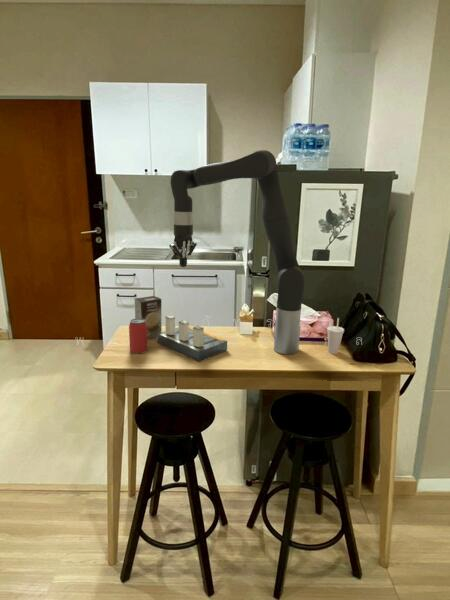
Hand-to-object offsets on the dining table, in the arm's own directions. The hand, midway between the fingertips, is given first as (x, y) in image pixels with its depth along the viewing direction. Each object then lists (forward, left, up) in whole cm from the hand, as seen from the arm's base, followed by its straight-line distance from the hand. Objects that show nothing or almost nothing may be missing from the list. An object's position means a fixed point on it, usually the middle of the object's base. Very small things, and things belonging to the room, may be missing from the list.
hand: (183, 266), depth 164 cm
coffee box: (+12, -8, -29) cm, 33 cm away
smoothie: (-30, +54, -29) cm, 68 cm away
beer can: (+24, +2, -29) cm, 38 cm away
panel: (+7, +13, -29) cm, 33 cm away
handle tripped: (+11, +13, -25) cm, 30 cm away
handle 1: (+11, +5, -25) cm, 28 cm away
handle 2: (+11, +21, -25) cm, 34 cm away
